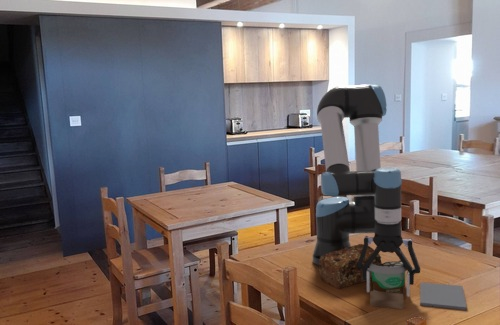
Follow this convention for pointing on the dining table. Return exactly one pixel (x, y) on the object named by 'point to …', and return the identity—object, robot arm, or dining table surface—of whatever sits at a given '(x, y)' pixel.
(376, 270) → the food container
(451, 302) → the mat
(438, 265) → the dining table surface
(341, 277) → the bread
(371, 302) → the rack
